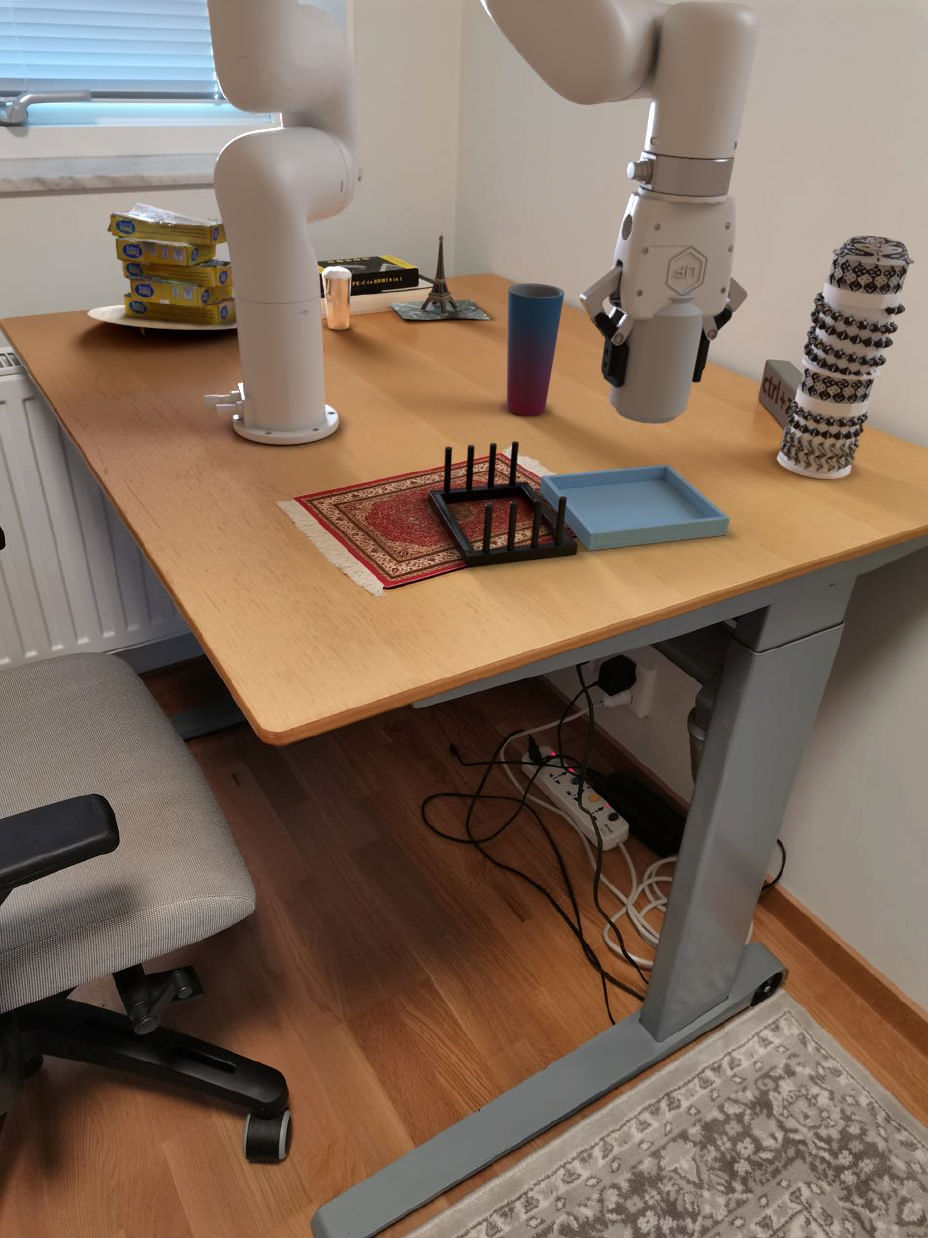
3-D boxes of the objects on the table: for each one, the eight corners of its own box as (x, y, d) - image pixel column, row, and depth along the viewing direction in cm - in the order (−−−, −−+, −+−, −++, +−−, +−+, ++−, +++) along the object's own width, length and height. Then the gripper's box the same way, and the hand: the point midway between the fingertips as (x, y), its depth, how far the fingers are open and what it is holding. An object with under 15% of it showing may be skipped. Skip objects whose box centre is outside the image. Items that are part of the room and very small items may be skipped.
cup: (548, 421, 115) (561, 299, 106) (495, 414, 116) (504, 294, 107) (554, 402, 120) (567, 286, 112) (504, 397, 121) (512, 280, 113)
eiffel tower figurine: (472, 302, 160) (476, 221, 152) (490, 319, 152) (495, 234, 144) (389, 305, 156) (389, 222, 148) (403, 322, 148) (404, 235, 140)
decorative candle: (829, 447, 112) (892, 231, 98) (869, 479, 104) (943, 250, 90) (760, 448, 110) (814, 230, 96) (796, 481, 103) (860, 249, 89)
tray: (588, 551, 87) (591, 533, 86) (539, 491, 98) (541, 475, 97) (726, 534, 91) (730, 518, 90) (665, 479, 102) (668, 464, 101)
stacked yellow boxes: (153, 298, 152) (138, 190, 143) (287, 318, 147) (279, 206, 137) (56, 339, 133) (31, 216, 123) (205, 363, 127) (190, 236, 118)
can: (696, 410, 90) (721, 284, 83) (667, 433, 84) (692, 301, 77) (626, 393, 93) (645, 270, 86) (595, 414, 87) (612, 285, 81)
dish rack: (467, 567, 84) (470, 509, 80) (427, 500, 95) (429, 447, 91) (576, 554, 87) (584, 498, 83) (526, 491, 98) (531, 439, 94)
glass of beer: (356, 332, 142) (354, 265, 137) (322, 330, 142) (319, 263, 137) (359, 323, 146) (358, 258, 140) (326, 322, 146) (323, 256, 140)
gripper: (610, 184, 72) (583, 399, 81) (798, 185, 76) (751, 388, 86) (573, 170, 77) (552, 372, 87) (750, 171, 82) (711, 363, 92)
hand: (651, 379), depth 87 cm, fingers closed on can, 7 cm apart
